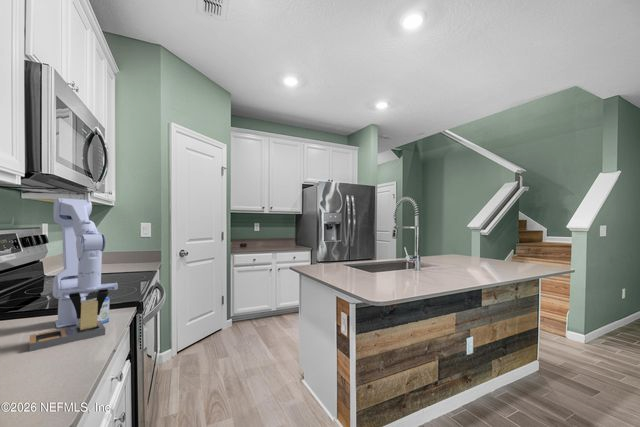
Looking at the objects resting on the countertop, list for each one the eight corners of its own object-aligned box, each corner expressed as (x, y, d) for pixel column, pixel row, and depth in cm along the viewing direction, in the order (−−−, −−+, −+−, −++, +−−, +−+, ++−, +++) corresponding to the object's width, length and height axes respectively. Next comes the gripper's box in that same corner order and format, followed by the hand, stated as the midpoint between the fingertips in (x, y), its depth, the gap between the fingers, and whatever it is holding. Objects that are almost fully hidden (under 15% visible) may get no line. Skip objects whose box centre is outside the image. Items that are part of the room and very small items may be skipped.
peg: (78, 326, 88) (79, 300, 88) (94, 323, 91) (95, 298, 91) (80, 330, 85) (81, 303, 85) (96, 326, 88) (97, 300, 88)
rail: (29, 342, 81) (29, 335, 81) (100, 328, 93) (100, 321, 93) (29, 351, 76) (29, 343, 76) (105, 334, 88) (105, 327, 88)
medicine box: (86, 329, 92) (87, 302, 93) (75, 328, 93) (76, 302, 93) (109, 321, 100) (110, 296, 100) (99, 320, 101) (99, 296, 101)
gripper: (59, 276, 81) (57, 325, 80) (120, 271, 91) (119, 313, 90) (57, 273, 85) (55, 319, 85) (115, 268, 96) (114, 309, 95)
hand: (88, 316), depth 88 cm, fingers closed on peg, 4 cm apart
